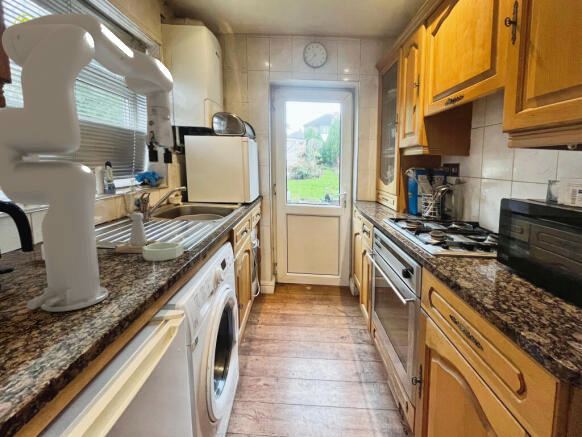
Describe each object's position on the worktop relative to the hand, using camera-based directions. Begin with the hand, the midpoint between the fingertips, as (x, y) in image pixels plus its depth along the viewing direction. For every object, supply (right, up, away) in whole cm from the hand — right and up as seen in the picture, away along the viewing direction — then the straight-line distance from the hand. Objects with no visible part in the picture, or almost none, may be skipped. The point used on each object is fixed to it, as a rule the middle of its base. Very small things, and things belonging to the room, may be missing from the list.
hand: (161, 162), depth 109 cm
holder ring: (+3, -33, -6) cm, 34 cm away
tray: (-9, -32, +2) cm, 34 cm away
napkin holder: (-29, -35, -11) cm, 47 cm away
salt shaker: (-9, -32, +2) cm, 33 cm away
